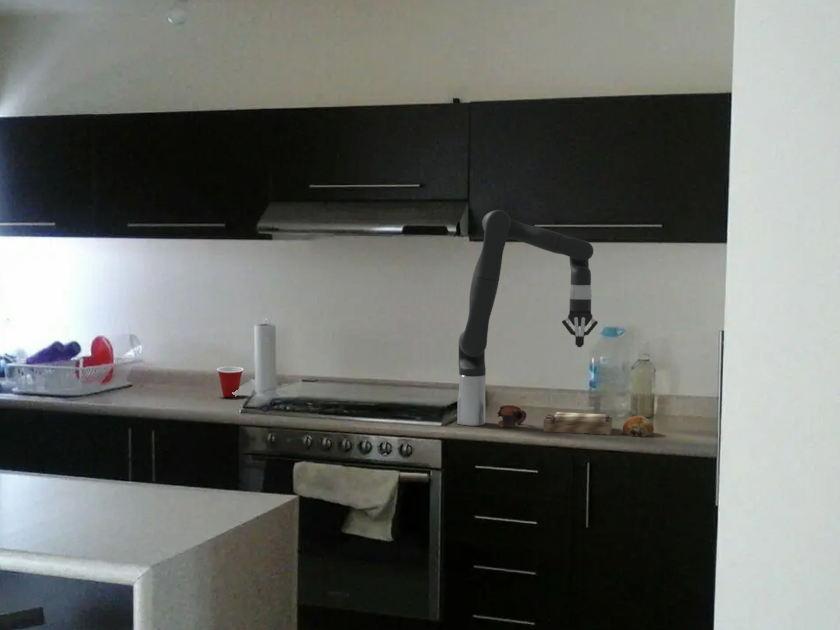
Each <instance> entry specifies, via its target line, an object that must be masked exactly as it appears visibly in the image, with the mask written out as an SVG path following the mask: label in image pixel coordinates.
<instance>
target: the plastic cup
mask: <svg viewBox="0 0 840 630" xmlns="http://www.w3.org/2000/svg"><path fill="white" fill-rule="evenodd" d="M216 371H217V372H218V377H219V381H220V386H221V392H222V396H223V397H222V398H225V397H235V395H233V394H232V392H235V391H236V390H238V389H240V383H241V377H242V374H243V371H244V368H243V367H239V366H221V367H218V368H216ZM238 391H239V390H238ZM235 398H236V397H235Z"/></svg>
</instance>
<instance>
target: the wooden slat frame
mask: <svg viewBox="0 0 840 630" xmlns="http://www.w3.org/2000/svg"><path fill="white" fill-rule="evenodd" d="M552 415H607V414H605V413H604V414H603V413H584V412H583V413H581V412H580V413H579V412H564V411H563V412H562V411H561V412H560V411H559V412H558V411H557V412H556V413H547V415H546V416H545V418H544V419H543V432H549V433H550V432H551V433H565V434H566V433H567V434H568V433H569V434H584V433H590V435H603V434H606V436H607V435H608V436H611V433H612V430H613V416H610V422H595V421H575V420H555V418H551V416H552ZM550 418H551V419H550Z"/></svg>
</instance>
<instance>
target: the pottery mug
mask: <svg viewBox="0 0 840 630" xmlns="http://www.w3.org/2000/svg"><path fill="white" fill-rule="evenodd" d="M499 409H500V410H498V411H497V417H498V418H500V417H501V418H502V420H499V421H498V428H510V429H515V427H516V426H521V424H522V423H524V422H525V421H526V418H527V413H526V411H525V410H522V409H521V408H520V407H519V406H517V405H511V404H507V405H502V406H500V407H499Z"/></svg>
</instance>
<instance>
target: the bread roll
mask: <svg viewBox="0 0 840 630" xmlns="http://www.w3.org/2000/svg"><path fill="white" fill-rule="evenodd" d="M622 426H623V427H622V433H623V434H624V435H625V436H628V435H630V436H631V437H635V436H645V437H650V436H652V435H653V433H654V430H655V429H654V425H653V423H652V421H651V420H650V419H648V418H647V417H645V416H643V415H635V416H631V417H629V418H628V419H627V420H626V421H625V422H624V423H623V425H622ZM630 436H629V437H630Z"/></svg>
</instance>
